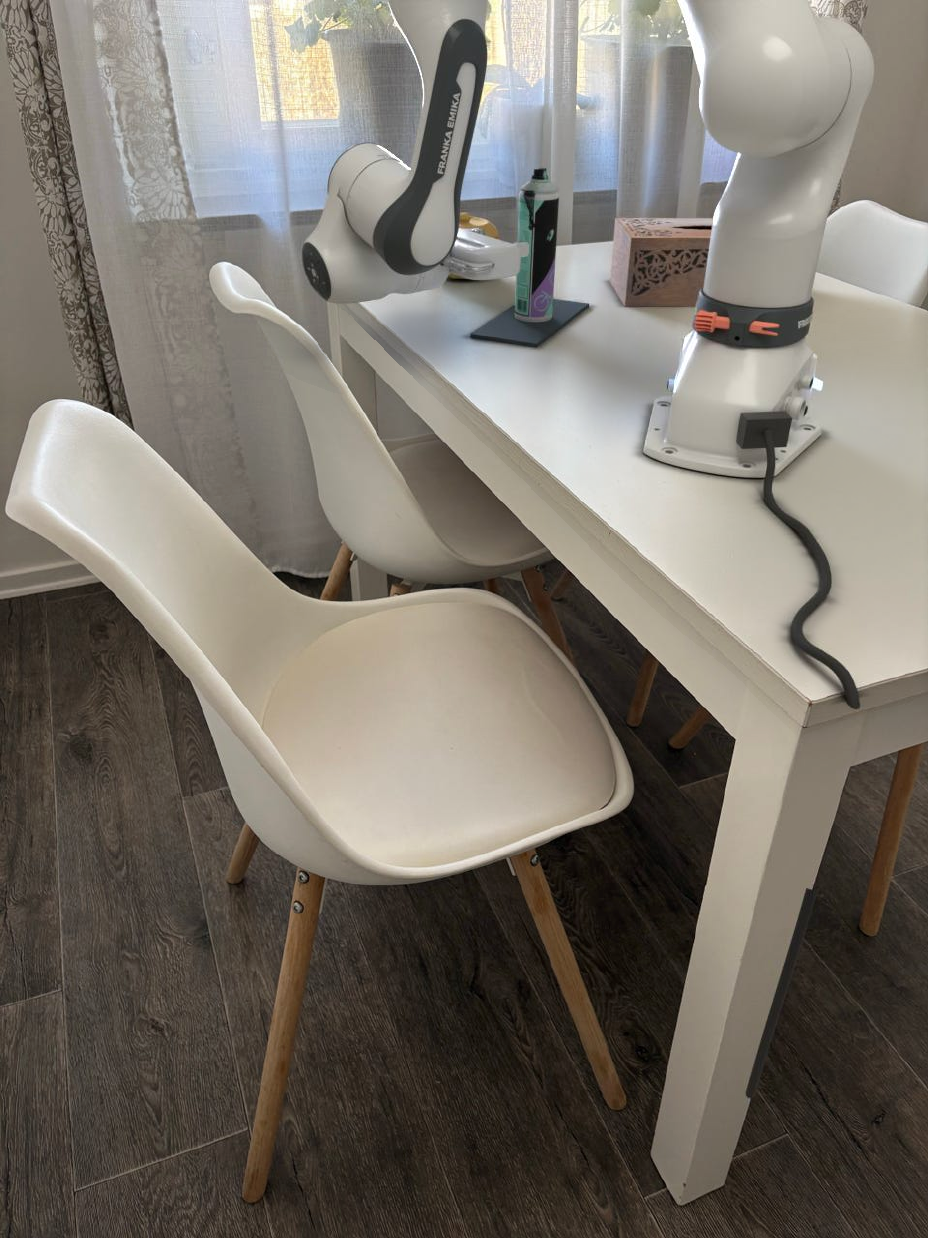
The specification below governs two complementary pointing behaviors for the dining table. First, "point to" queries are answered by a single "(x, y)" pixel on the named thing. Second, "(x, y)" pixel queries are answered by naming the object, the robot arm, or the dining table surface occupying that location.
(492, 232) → the pot
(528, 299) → the spray can
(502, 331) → the mat
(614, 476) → the dining table surface
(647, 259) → the tissue box cover
